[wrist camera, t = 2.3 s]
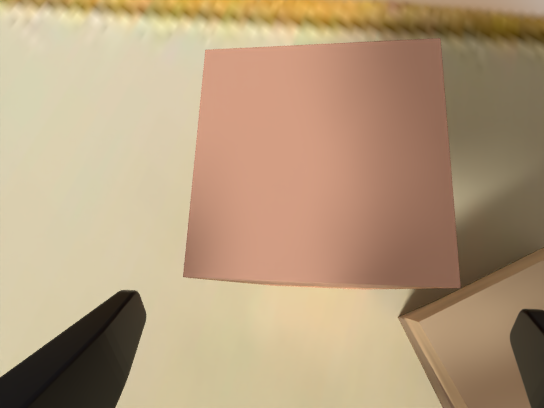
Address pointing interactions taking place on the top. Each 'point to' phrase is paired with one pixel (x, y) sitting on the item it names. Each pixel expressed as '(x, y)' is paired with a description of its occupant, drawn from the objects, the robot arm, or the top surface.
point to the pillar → (324, 168)
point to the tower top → (481, 335)
